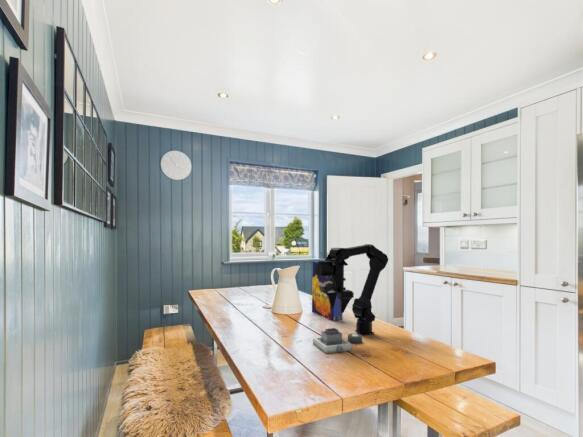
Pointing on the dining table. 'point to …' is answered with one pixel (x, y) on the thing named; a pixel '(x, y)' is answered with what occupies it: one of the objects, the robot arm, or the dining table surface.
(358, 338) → the spare wheel
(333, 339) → the grey stepped block
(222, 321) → the dining table surface
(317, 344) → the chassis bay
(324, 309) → the cereal box
